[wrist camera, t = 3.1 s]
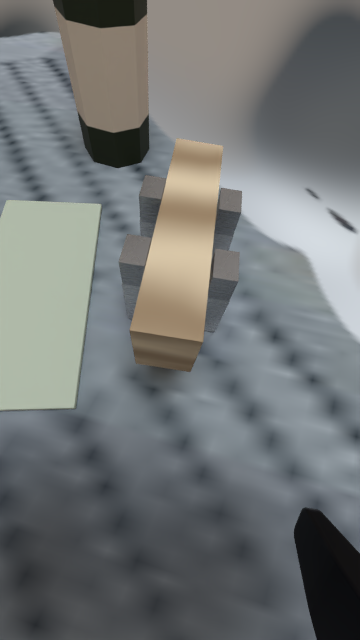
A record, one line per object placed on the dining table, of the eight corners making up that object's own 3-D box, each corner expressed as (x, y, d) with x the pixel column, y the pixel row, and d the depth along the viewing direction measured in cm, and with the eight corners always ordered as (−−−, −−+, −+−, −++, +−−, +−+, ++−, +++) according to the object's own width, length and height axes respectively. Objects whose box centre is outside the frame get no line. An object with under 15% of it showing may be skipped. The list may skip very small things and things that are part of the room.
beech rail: (190, 371, 17) (203, 341, 13) (135, 363, 17) (129, 330, 13) (210, 202, 25) (222, 146, 20) (172, 196, 25) (176, 138, 20)
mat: (75, 408, 21) (74, 407, 20) (-65, 412, 20) (-70, 411, 19) (101, 207, 31) (101, 204, 30) (9, 203, 30) (6, 200, 29)
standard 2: (214, 332, 25) (238, 281, 18) (128, 318, 25) (117, 261, 18) (216, 308, 26) (240, 252, 19) (134, 295, 26) (126, 233, 19)
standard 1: (219, 275, 28) (241, 212, 21) (142, 262, 28) (138, 195, 21) (220, 256, 29) (242, 191, 22) (147, 244, 29) (144, 175, 22)
